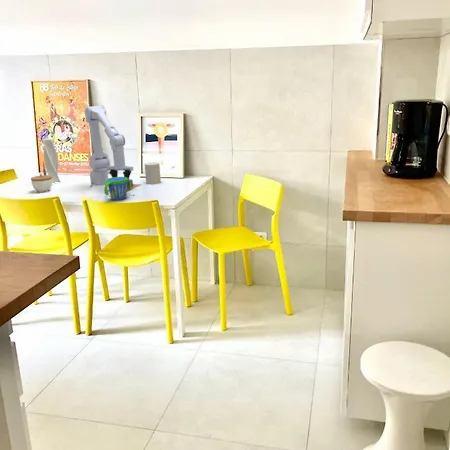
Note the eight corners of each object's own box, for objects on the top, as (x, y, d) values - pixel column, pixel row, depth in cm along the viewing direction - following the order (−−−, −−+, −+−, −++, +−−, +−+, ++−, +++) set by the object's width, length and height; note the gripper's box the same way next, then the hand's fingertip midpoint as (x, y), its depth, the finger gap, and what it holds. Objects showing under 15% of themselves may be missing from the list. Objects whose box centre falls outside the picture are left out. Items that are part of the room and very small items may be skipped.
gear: (122, 187, 264) (121, 181, 263) (123, 185, 270) (122, 179, 269) (132, 187, 265) (131, 181, 264) (133, 185, 270) (132, 178, 269)
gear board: (106, 193, 258) (105, 185, 257) (122, 185, 275) (121, 178, 274) (126, 194, 255) (126, 186, 254) (142, 186, 271) (141, 179, 270)
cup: (158, 186, 271) (156, 164, 267) (144, 186, 272) (142, 164, 269) (162, 183, 278) (161, 162, 275) (149, 183, 280) (147, 162, 276)
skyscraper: (57, 180, 297) (50, 133, 289) (63, 182, 292) (57, 134, 284) (44, 182, 291) (36, 135, 283) (50, 184, 286) (43, 136, 278)
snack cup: (112, 203, 237) (110, 182, 234) (99, 200, 244) (97, 180, 241) (137, 196, 248) (135, 177, 245) (125, 194, 255) (123, 175, 252)
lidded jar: (57, 189, 273) (55, 172, 271) (44, 193, 264) (42, 176, 261) (41, 188, 277) (39, 172, 274) (28, 192, 267) (26, 175, 264)
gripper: (102, 159, 255) (105, 185, 259) (127, 159, 251) (130, 185, 255) (109, 157, 261) (112, 182, 265) (134, 157, 257) (136, 183, 261)
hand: (121, 183), depth 260 cm, fingers closed on brass gear, 6 cm apart
